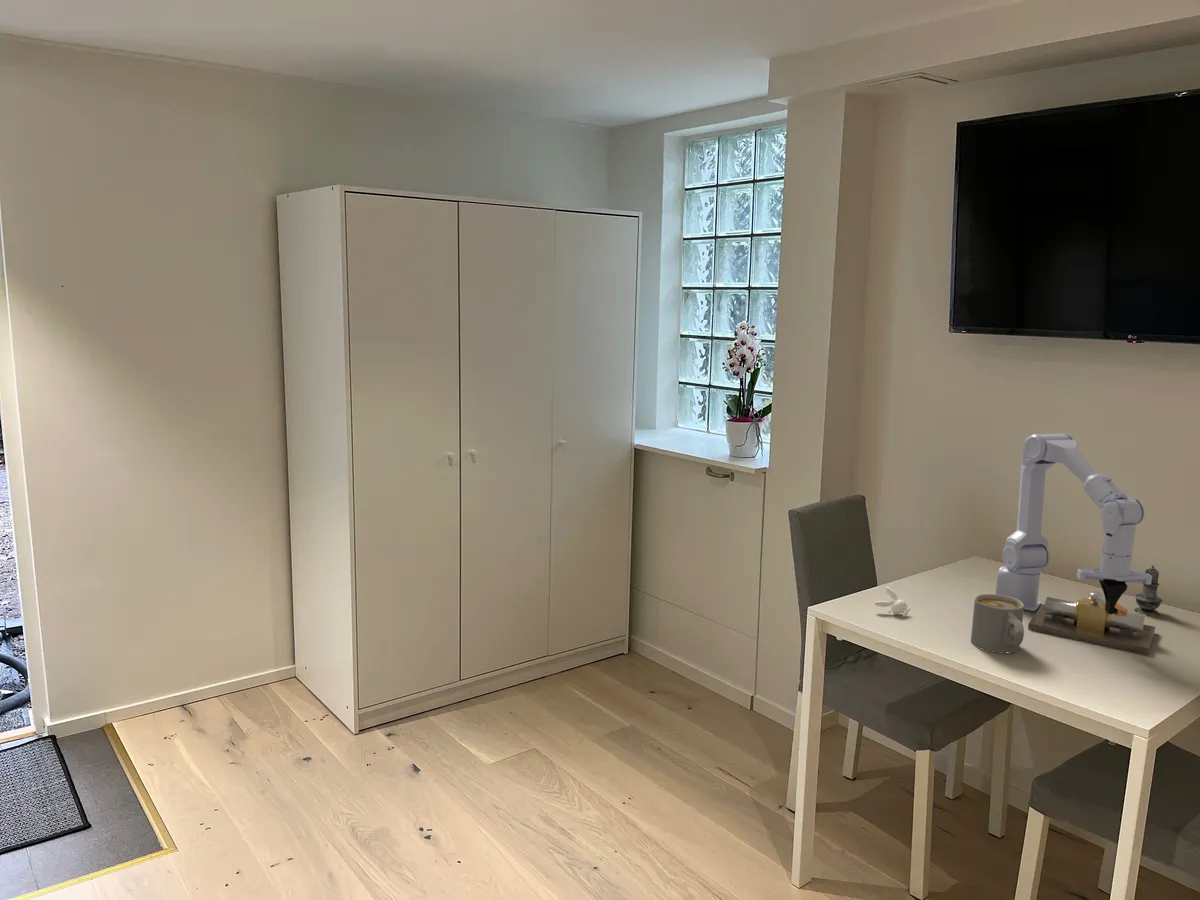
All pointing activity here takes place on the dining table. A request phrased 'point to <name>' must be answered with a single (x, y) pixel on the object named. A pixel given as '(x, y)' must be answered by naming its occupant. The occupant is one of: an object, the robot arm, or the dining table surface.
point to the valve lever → (1099, 598)
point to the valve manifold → (1093, 624)
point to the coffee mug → (997, 623)
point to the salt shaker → (1149, 595)
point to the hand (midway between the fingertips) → (1109, 612)
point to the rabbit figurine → (894, 603)
